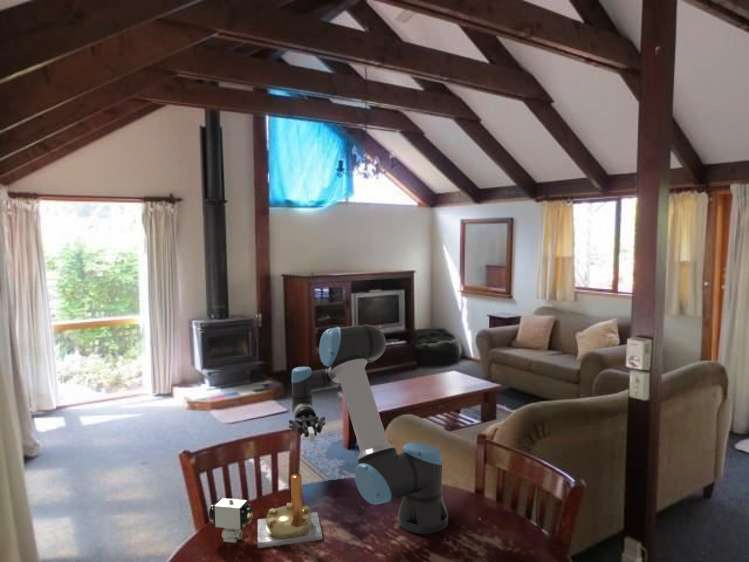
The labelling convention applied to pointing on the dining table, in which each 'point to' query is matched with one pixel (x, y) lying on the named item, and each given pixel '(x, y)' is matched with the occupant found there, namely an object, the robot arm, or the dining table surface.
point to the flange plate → (269, 540)
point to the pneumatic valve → (231, 517)
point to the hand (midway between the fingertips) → (312, 437)
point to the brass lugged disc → (290, 514)
